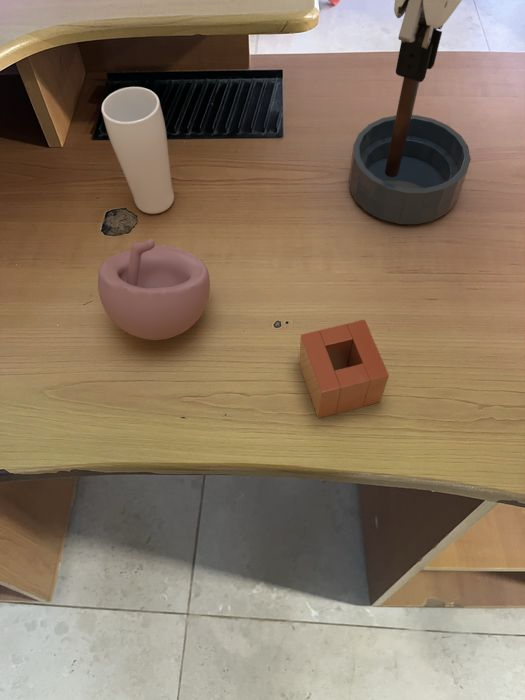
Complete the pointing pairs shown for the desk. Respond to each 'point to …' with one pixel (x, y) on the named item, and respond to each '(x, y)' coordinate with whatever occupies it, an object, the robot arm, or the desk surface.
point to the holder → (340, 352)
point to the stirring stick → (401, 124)
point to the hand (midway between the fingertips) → (414, 69)
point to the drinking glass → (140, 146)
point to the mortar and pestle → (154, 290)
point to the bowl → (409, 171)
